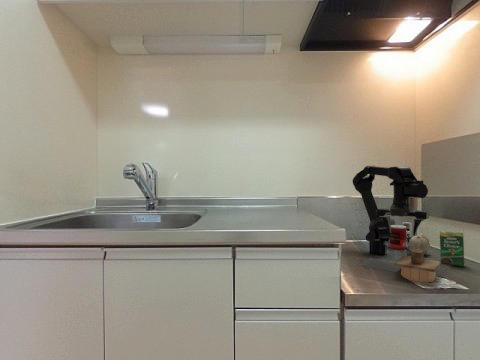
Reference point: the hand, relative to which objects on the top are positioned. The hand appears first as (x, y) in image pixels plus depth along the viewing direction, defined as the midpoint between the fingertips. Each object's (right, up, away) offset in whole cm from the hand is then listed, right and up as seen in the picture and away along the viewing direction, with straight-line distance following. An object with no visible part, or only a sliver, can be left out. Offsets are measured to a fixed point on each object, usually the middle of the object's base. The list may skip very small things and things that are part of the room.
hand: (401, 234), depth 124 cm
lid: (-4, -7, -19) cm, 20 cm away
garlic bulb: (+15, -12, +12) cm, 23 cm away
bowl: (-4, -12, -19) cm, 23 cm away
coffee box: (+19, -12, -3) cm, 22 cm away
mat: (-10, -12, -3) cm, 16 cm away
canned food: (+12, -12, +26) cm, 31 cm away
